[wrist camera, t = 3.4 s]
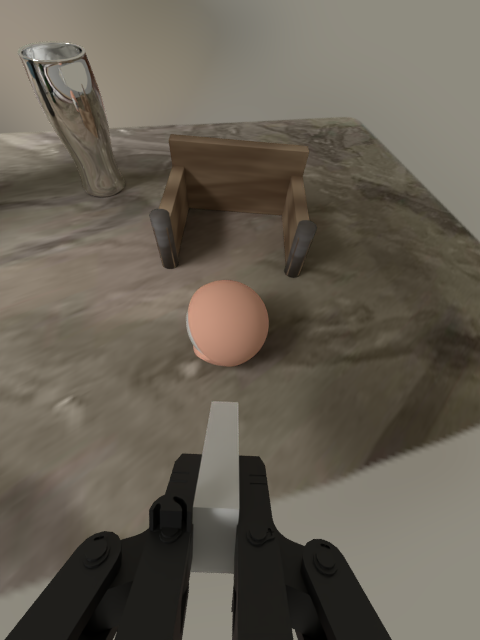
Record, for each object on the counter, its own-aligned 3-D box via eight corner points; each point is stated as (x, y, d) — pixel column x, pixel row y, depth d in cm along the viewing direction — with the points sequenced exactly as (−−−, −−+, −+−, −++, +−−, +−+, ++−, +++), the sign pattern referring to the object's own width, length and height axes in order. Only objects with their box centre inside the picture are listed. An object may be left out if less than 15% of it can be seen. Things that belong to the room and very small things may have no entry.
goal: (300, 278, 33) (324, 216, 25) (160, 268, 32) (142, 202, 25) (292, 210, 40) (309, 146, 33) (178, 200, 40) (168, 134, 32)
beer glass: (92, 170, 43) (38, 37, 30) (134, 176, 42) (97, 45, 30) (72, 195, 39) (-1, 55, 26) (117, 202, 39) (67, 64, 26)
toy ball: (203, 304, 30) (198, 253, 23) (268, 320, 29) (282, 272, 23) (177, 367, 26) (162, 327, 19) (253, 388, 25) (265, 354, 19)
